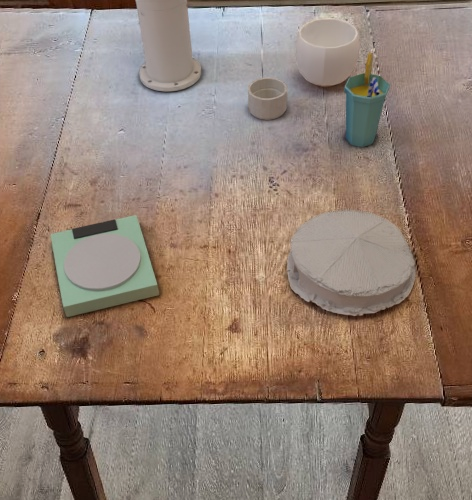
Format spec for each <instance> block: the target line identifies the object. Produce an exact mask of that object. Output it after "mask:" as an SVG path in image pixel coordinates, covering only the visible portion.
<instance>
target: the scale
mask: <svg viewBox="0 0 472 500" xmlns="http://www.w3.org/2000/svg"><path fill="white" fill-rule="evenodd" d="M139 221H140V220H139V218H138V215H137V214H134V215H129V216H125V217H121V218H115V219H111V220H105V221H102V222H96V223H91V224H88V225H83V226H79V227H74V228H70V229H66V230H61V231H57V232H53V233H50V240H51V241H50V242H51V247H52V252H53V258H54V263H55V269H56V275H57V280H58V287H59V290H60V291H59V292H60V298H61V303H62V308H63V312H64V313H65V316H66V317H67V318H69V317H74V316H78V315H82V314H86V313H90V312H91V313H92V312H95V311H99V310H103V309H109V308H111V307H116V306H120V305H124V304H128V303H133V302H136V301H140V300H144V299H149V298H153V297H158V296H160V290H159V285H158V282H157V279H156V275H155V272H154V267H153V265H152V262H151V258H150V255H149V251H148V249H147V246H146V245H147V244H146V241H145V238H144V235H143V232H142V228H141V225H140V222H139Z"/></svg>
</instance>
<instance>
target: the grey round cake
mask: <svg viewBox="0 0 472 500" xmlns="http://www.w3.org/2000/svg"><path fill="white" fill-rule="evenodd" d="M341 209H342V208H341ZM341 209H340V210H338V209H337V210H335V208H334V209H333V211H331V210H327V211H326V212H320V214H314V216H313V217H311V218H310V219H309V220H306V221H305V222H303V223H302V224H301V225H300V226H299V227H298V228H297V229H296V230H295V232H294V233H293V235H292V237H291V240H289V243H290V250H289V253H288V257H287V260H286V261H287V262H286V266H287V267H286V269H287V270H286V272H287V278H288V279H287V280H288V283H289V285H290V288H291V290H292V291H293V292H294V293H295V294H296V295H297V294H298V296H299V297H300V298H301V299H303V300H304V301H305V302H307V303H310V302H311V303H314V304H315V305H317V307H320V308H321V309H322V310H326V311H327V312H331V313H334V314H339V315H345V316H353V317H356V316H359V317H361V316H364V314H375V313H377V312H380V311H383V310H386V308H387V309H389V308H392V307H393V306H395V305H399V304H400V303H401V302H403V301H404V300H405V299H406V298H407V297H408V296H410V293H411V291H412V290H413V287H414V284H415V280H416V275H417V273H416V270H417V267H416V266H415V265H416V260H415V258H414V255H413V253H412V250H411V247H410V244H409V242H408V241H407V239H406V237H405V236H404V234H403V232H402V230H401V229H400V228H399V227H397V225H395V224H394V222H391V221H390V220H388V219H387V218H385V217H383V216H381V215H378V214H376V213H374V212H369V211H365V210H363V209H360V210H359V208H358V209H357V210H355V209H353V208H350V207H349V208H348V207H346V208H343V209H342V210H341Z"/></svg>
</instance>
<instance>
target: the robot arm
mask: <svg viewBox="0 0 472 500" xmlns="http://www.w3.org/2000/svg"><path fill="white" fill-rule="evenodd" d="M135 4H136V5H135V6H136V11H137V17H138V23H139V25H138V26H139V30H140V37H141V44H142V49H143V50H142V51H143V55H144V56H143V57H144V63H143V64H142V65H141V66H140V67H139V71H138V74H139V81H140V82H141V83H142V84H143V86H145V87H147V88H149V89H151V90H154V91H157V92H166V93H167V92H176V91H182V90H185V89H187V88H189V87H192V86H193V85H195V84H196V83H197V82H198V81H199V80H200V78H201V75H202V67H201V64H200V62H199V61H198V60H197V59H196V58H194V57H193V50H192V40H191V30H190V29H191V28H190V19H189V18H190V17H189V7H188V0H135Z"/></svg>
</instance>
